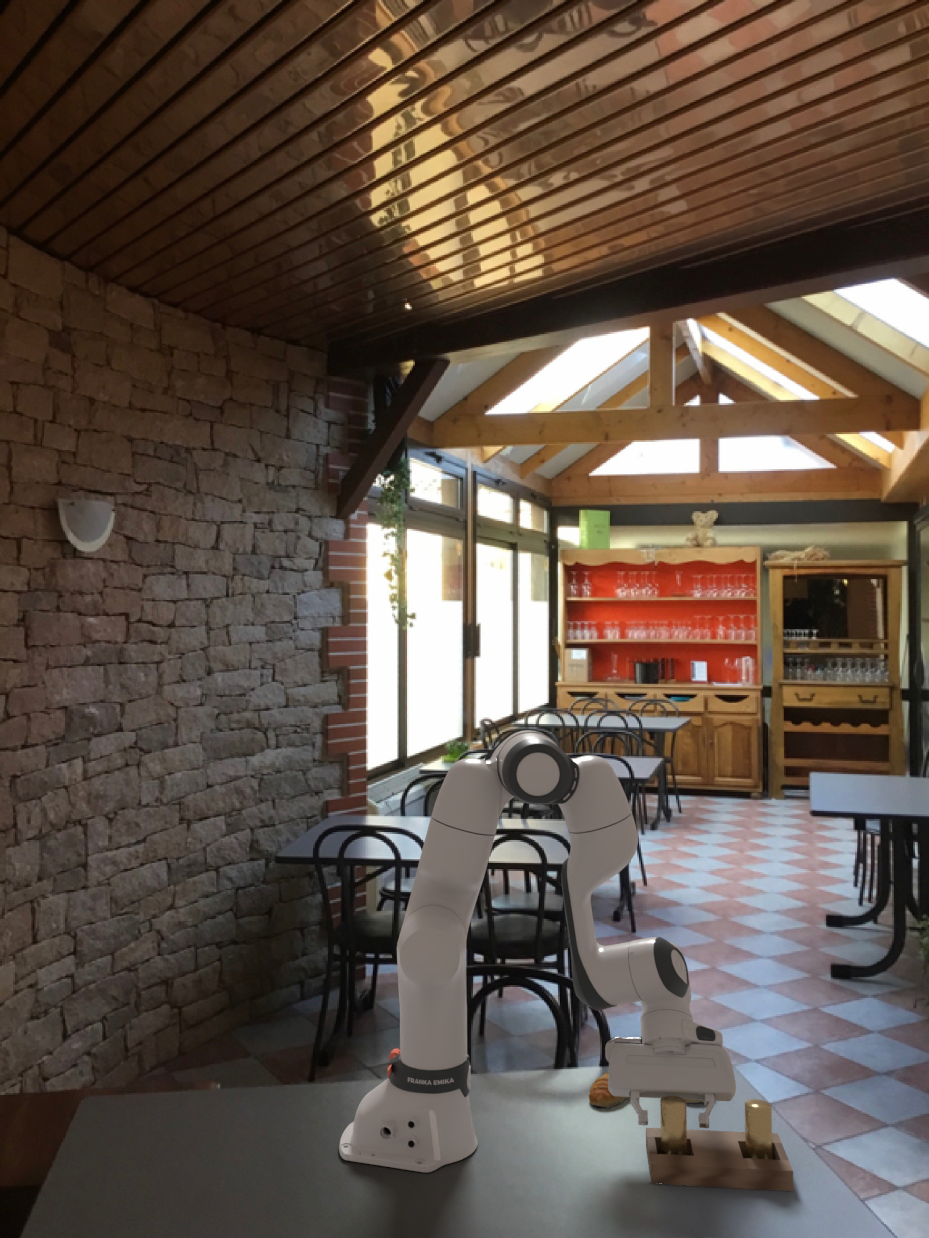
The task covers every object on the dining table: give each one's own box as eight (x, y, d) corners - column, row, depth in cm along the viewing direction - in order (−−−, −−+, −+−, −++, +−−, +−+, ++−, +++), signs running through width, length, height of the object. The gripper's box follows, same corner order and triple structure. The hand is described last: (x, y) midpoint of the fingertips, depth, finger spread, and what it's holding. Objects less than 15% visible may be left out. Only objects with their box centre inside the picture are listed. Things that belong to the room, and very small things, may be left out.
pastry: (614, 1113, 181) (614, 1091, 181) (579, 1105, 185) (579, 1083, 185) (635, 1094, 189) (634, 1072, 189) (601, 1086, 193) (600, 1065, 193)
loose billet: (662, 1171, 161) (661, 1106, 161) (660, 1158, 165) (659, 1095, 165) (688, 1172, 160) (687, 1107, 161) (685, 1159, 164) (684, 1096, 165)
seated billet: (747, 1175, 159) (747, 1109, 160) (743, 1162, 163) (742, 1098, 164) (774, 1177, 159) (773, 1110, 159) (769, 1164, 163) (769, 1099, 163)
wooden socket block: (650, 1183, 157) (650, 1163, 157) (645, 1146, 169) (645, 1127, 169) (793, 1191, 155) (793, 1170, 155) (778, 1152, 167) (777, 1133, 167)
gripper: (605, 1027, 171) (607, 1114, 161) (731, 1032, 169) (741, 1120, 159) (604, 1044, 176) (606, 1129, 166) (728, 1049, 173) (737, 1136, 163)
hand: (673, 1125), depth 162 cm, fingers open, 8 cm apart
